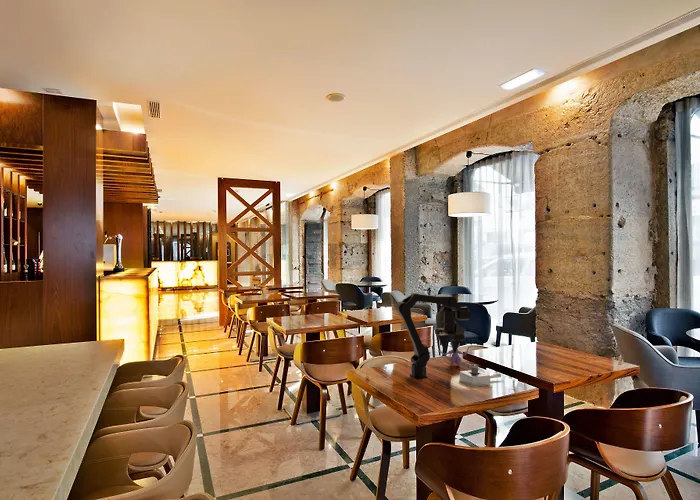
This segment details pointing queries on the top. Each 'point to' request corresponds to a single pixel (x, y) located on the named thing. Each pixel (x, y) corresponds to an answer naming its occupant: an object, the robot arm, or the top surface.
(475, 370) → the dark metal cylinder
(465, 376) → the grey holed paddle
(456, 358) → the toy
